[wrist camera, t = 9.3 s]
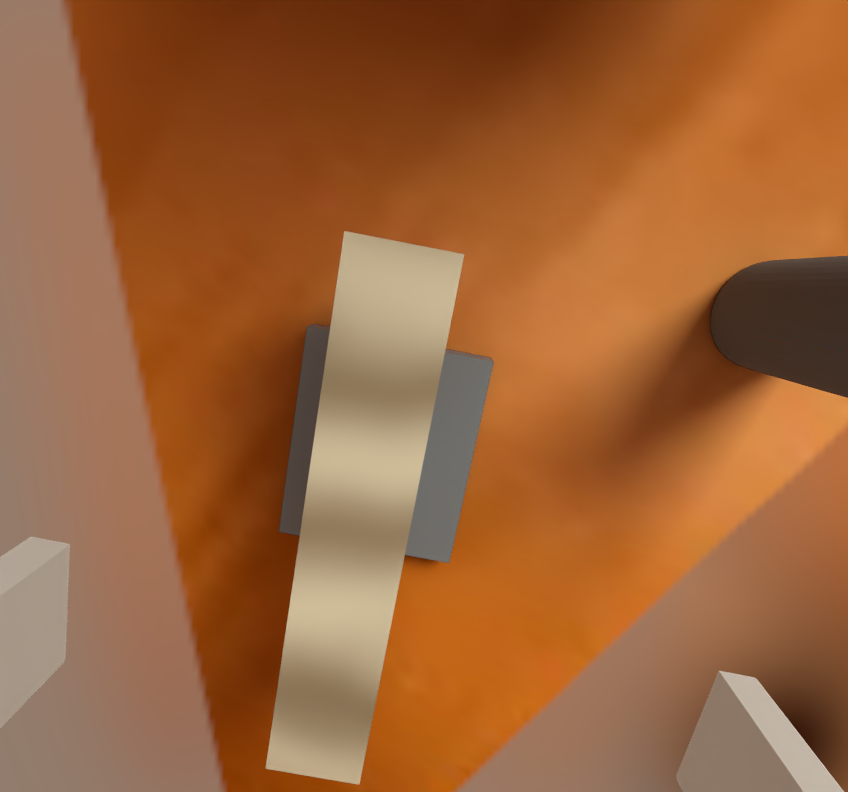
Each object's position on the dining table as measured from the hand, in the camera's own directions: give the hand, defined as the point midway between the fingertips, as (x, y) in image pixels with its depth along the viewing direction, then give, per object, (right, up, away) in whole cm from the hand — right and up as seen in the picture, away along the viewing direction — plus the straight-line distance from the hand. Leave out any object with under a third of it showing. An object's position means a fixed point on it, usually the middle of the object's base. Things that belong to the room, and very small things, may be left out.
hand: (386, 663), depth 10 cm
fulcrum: (-2, +3, +20) cm, 20 cm away
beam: (-2, +1, +14) cm, 14 cm away
